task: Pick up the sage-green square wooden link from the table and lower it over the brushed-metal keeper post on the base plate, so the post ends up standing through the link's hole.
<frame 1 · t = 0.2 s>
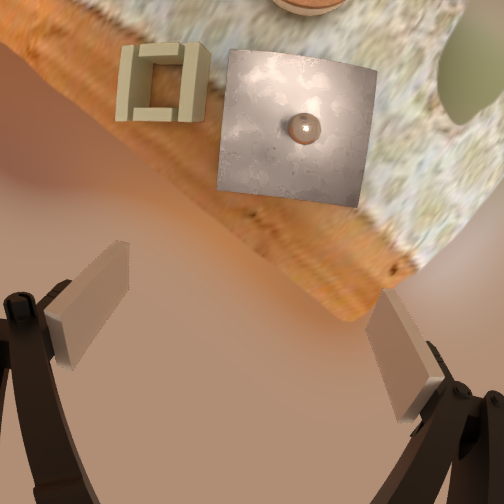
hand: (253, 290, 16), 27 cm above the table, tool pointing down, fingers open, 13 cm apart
square link: (173, 86, 37), on the table
keeper base: (296, 126, 38), on the table
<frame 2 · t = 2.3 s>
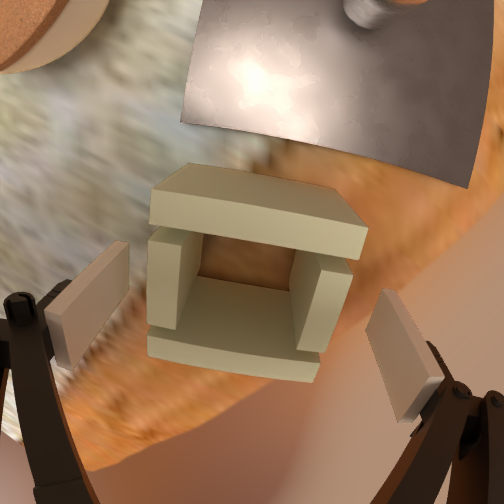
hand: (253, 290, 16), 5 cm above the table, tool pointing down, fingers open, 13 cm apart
square link: (249, 243, 21), on the table
keeper base: (361, 13, 15), on the table
lidded jar: (71, 8, 15), on the table
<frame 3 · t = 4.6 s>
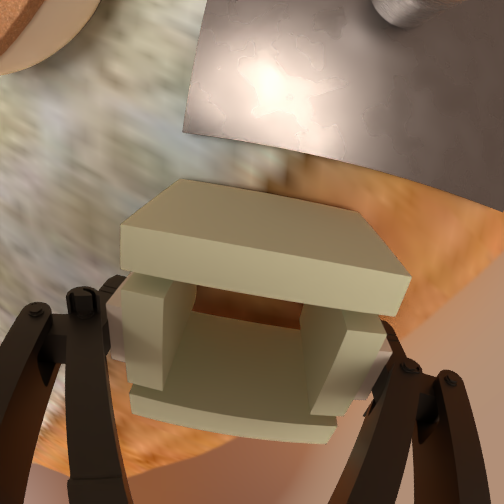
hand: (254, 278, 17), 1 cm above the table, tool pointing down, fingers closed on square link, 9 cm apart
square link: (254, 275, 17), point 1 cm above the table, touching gripper
keeper base: (390, 10, 12), on the table
lidded jar: (63, 3, 13), on the table
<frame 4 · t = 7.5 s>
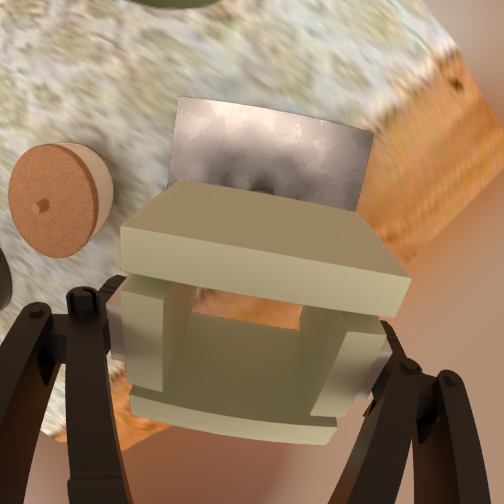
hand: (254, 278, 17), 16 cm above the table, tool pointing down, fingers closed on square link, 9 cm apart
square link: (254, 276, 17), point 16 cm above the table, touching gripper
keeper base: (260, 201, 32), on the table
lidded jar: (87, 184, 32), on the table
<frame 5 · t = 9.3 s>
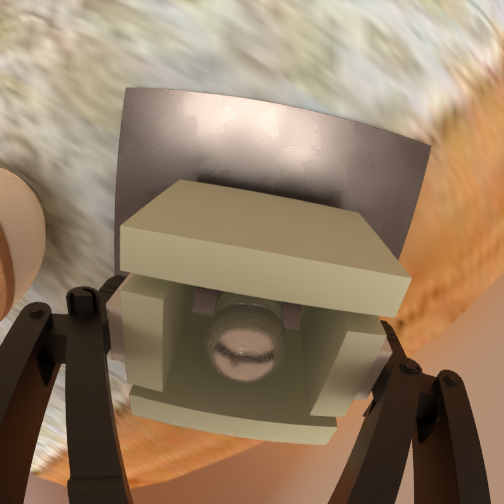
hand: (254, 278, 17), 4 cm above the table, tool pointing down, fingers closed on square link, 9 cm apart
square link: (254, 276, 17), point 4 cm above the table, touching gripper
keeper base: (255, 247, 21), on the table
lidded jar: (20, 217, 21), on the table
when the fingers open (3 cm above the table, at t = 10.6 s): square link drops 1 cm, resting on keeper base.
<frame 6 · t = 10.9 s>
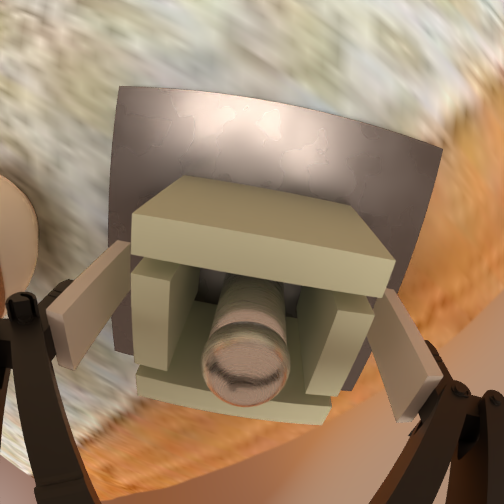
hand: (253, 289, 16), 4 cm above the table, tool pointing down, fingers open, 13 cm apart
square link: (253, 266, 19), point 1 cm above the table, touching keeper base
keeper base: (256, 255, 20), on the table
lidded jar: (13, 221, 20), on the table
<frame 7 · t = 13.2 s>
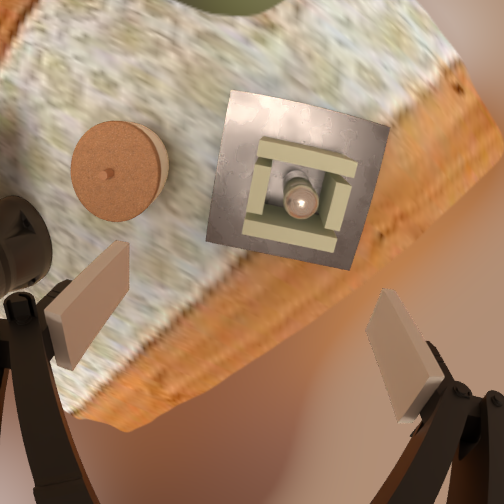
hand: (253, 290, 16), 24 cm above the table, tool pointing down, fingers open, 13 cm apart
square link: (295, 183, 36), point 1 cm above the table, touching keeper base
keeper base: (295, 181, 37), on the table
lidded jar: (140, 161, 38), on the table
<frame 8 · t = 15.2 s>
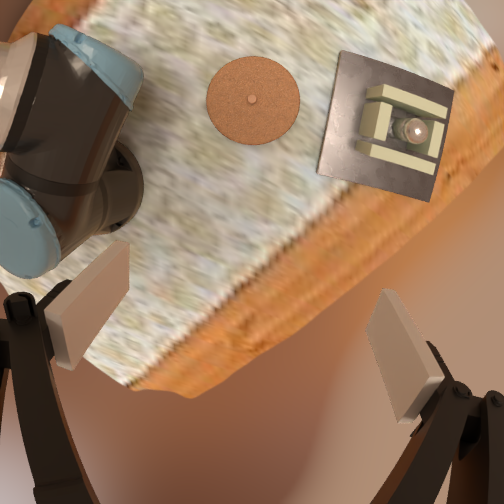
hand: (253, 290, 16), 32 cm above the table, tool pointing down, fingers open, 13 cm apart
square link: (391, 127, 40), point 1 cm above the table, touching keeper base
keeper base: (388, 127, 41), on the table
lidded jar: (255, 103, 41), on the table
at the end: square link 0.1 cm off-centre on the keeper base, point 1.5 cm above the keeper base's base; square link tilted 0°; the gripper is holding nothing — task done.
